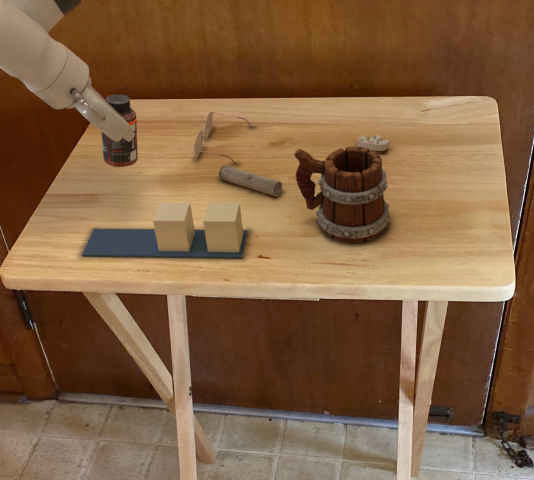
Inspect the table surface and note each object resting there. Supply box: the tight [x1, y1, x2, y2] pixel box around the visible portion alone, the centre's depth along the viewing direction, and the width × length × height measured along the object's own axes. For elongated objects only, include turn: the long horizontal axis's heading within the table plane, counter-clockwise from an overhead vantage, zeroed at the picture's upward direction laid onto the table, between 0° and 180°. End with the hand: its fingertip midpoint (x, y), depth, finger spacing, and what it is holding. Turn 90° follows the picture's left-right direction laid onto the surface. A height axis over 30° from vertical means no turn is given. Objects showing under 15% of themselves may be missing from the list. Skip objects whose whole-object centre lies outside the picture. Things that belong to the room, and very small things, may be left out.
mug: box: [293, 146, 390, 244], centre depth 128 cm, size 12×14×15 cm
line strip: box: [81, 228, 249, 260], centre depth 132 cm, size 26×7×1 cm, turn 83°
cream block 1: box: [152, 201, 196, 252], centre depth 129 cm, size 5×5×6 cm
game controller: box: [356, 134, 390, 152], centre depth 145 cm, size 6×12×3 cm, turn 173°
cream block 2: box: [202, 202, 244, 252], centre depth 128 cm, size 5×5×6 cm
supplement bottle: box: [101, 94, 139, 168], centre depth 139 cm, size 6×6×11 cm
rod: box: [218, 164, 283, 197], centre depth 141 cm, size 12×3×3 cm, turn 56°
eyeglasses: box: [192, 110, 253, 165], centre depth 152 cm, size 14×8×4 cm, turn 168°
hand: (122, 128), depth 139 cm, fingers closed on supplement bottle, 6 cm apart
